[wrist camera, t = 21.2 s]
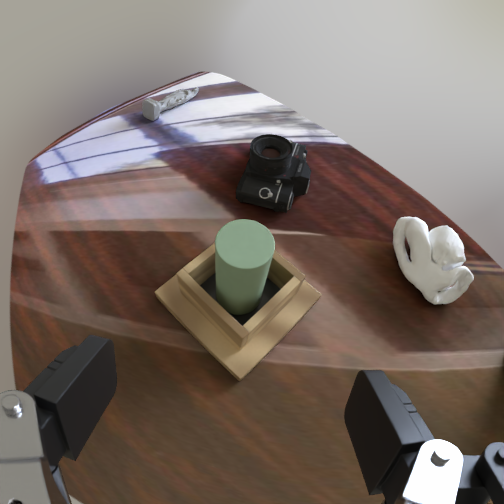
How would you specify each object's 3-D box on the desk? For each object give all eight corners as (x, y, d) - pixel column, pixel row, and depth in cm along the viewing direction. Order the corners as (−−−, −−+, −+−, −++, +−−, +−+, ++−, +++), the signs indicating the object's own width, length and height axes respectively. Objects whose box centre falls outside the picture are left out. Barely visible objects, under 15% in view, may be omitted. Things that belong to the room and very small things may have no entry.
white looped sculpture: (380, 229, 39) (428, 191, 35) (427, 289, 40) (472, 257, 36) (382, 258, 32) (443, 212, 28) (435, 326, 33) (490, 289, 28)
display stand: (237, 232, 37) (241, 201, 32) (318, 300, 33) (334, 276, 28) (156, 297, 31) (146, 272, 27) (239, 381, 28) (243, 371, 23)
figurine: (142, 116, 48) (141, 99, 45) (192, 96, 55) (192, 80, 52) (155, 122, 47) (154, 103, 44) (204, 100, 54) (205, 84, 51)
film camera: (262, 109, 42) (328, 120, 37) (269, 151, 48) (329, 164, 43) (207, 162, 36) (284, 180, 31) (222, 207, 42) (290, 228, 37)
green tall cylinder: (238, 266, 32) (244, 209, 25) (270, 294, 31) (287, 243, 23) (206, 293, 30) (202, 241, 23) (238, 324, 29) (246, 280, 21)
